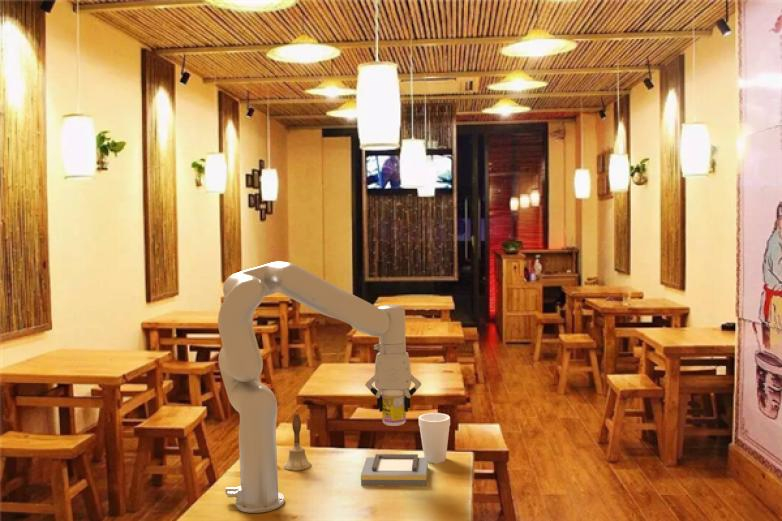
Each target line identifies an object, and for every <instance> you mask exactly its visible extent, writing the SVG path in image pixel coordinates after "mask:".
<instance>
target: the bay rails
mask: <svg viewBox="0 0 782 521" xmlns="http://www.w3.org/2000/svg"><path fill="white" fill-rule="evenodd" d="M374 457H375V459H374V462H373V466H372V471H376V470H377V466H378V463H379V459H413V464H412V471H416V470H417V462H418V458H419V454H418V453H415V454H412V453H411V454H409V453H408V454H404V453H402V454H401V453H400V454H399V453H398V454H394V453H392V454H390V453H389V454H387V453H386V454H385V453H383V454H382V453H378V454H377V453H376V454H375V456H374Z"/></svg>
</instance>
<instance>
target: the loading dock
mask: <svg viewBox="0 0 782 521" xmlns="http://www.w3.org/2000/svg"><path fill="white" fill-rule="evenodd" d="M374 459H375V456H374V457H373V456H372V457H370V456H369V457H366V458H365V461H364V464H363V467H362V470H361V474H360V485H361V486H379V485H384V486H385V487H386V486H387V487H388V486H389V487H390V486H394V487H395V486H398V487H401V486H402V487H403V486H404V487H406V486H408V487H409V486H412V487H413V486H414V487H415V486H416V487H417V486H419V487H422V486H423V487H424V486H425V487H426V486H427V485H428V484H427V483H428V481H427V480H428V471H429V470H428V469H429V464H428V463H429V462H428V458H424V457H418V462H417V470H416V471H412V464H413V459H379V463H378V466H377V470H376V471H372V466H373V462H374Z"/></svg>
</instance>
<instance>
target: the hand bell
mask: <svg viewBox="0 0 782 521" xmlns="http://www.w3.org/2000/svg"><path fill="white" fill-rule="evenodd" d="M291 426H292V431H293V436H294V438H293V439H294V440H293V446H292V447H290V448H289V451H288V452H289V454H288V458H287V459H286V461H285V462H284V463H283V468H284V470H287V471H294V472H295V471H303V470H307V469H310V468H311V467H312V462H311V461H309V459H308V457H307V456H306V451H305V450H306V448H305V447H304V446H301V445H300V443H301V441H300V440H301V439H300V433H301V429H302V420H301V417H300V413H299V412H295V413H294V414H293V418H292V424H291Z"/></svg>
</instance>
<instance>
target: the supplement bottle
mask: <svg viewBox="0 0 782 521" xmlns="http://www.w3.org/2000/svg"><path fill="white" fill-rule="evenodd" d="M381 394H382V412H381V414H382V416H381V418H382V423H383V425H385V426H388V427H389V426H390V427H392V426H393V427H394V426H395V427H396V426H402V425H405V423H406V422H407V421H406V420H407V419H406V417H407V416H406V415H407V414H406V413H407V412H406V411H405V396H406V394H405V392H404V390H383V391H382V393H381Z"/></svg>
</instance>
